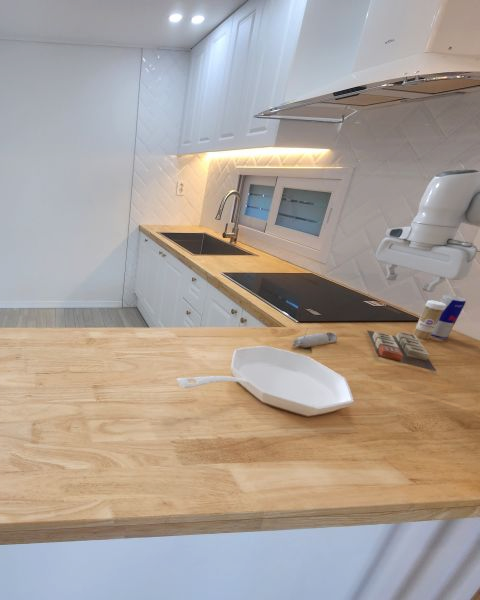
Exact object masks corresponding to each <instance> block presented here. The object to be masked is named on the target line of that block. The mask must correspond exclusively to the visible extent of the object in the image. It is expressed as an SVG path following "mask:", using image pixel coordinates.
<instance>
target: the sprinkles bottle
mask: <svg viewBox="0 0 480 600" xmlns="http://www.w3.org/2000/svg"><path fill="white" fill-rule="evenodd" d="M445 308H446V304H445V303H442V302H440V301H438V300H432V299H429V300H427V301H426V303H425V306H424V308H423V311H422V313H421V315H420V316H419V319H418V321H417V323H416V325H415V328H414V330H413V332H412V333H411V334H412V335H416V337H417V338H418V339H420V340H427V341H429V340H430V338H431V337H432V336H431V334H432V332H433V331H434V329H435V327H436V325H437V323H438V321H439V319H440V316H441V314H442V312H443V311H444V310H445Z"/></svg>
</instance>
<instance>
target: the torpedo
mask: <svg viewBox="0 0 480 600" xmlns="http://www.w3.org/2000/svg"><path fill="white" fill-rule="evenodd" d="M308 330H309V328H307V327H306V330H305V334H304V335H302V336H299V337H298V338H296V339H295V340H292V341H291V344H292V346H291V347H293V348H294V347H300V348H303V349H304V348H307V349H308V348H312V347H317V346H323V345H328V344H332V343H334V344H335V343H336V342H337V341H338V335H337V334H336V333H334V332H332V331H328V332H326V333H323V332H320V333H313V334H307V332H308ZM306 334H307V335H306Z"/></svg>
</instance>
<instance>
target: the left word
mask: <svg viewBox="0 0 480 600" xmlns="http://www.w3.org/2000/svg"><path fill="white" fill-rule="evenodd" d="M373 332H374V334H373V339H374V342H376V343H375V344H376V346H377V348H378V349H379V347H380V345H384V346H389V347H393V348H397V349H398V348H399V347H398V345H397V344H396V342H395V340H394V338H393V337H392V336H393V335H391V334H387V333H383V332H379V331H373Z"/></svg>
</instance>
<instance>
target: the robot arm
mask: <svg viewBox="0 0 480 600" xmlns="http://www.w3.org/2000/svg"><path fill="white" fill-rule="evenodd" d="M461 224H465V225H469V226H474V227H478V228H480V171H479V170H476V169H456V170H448V171H443V172H442V171H441V173H437V174H436V175H435V176H434V177H432V178H431V180H430V182H429V183H428V185H427V186H426V189H425V190H424V192H423V195H422V197H421V199H420V201H419V204H418V211H417V214H416V216H414V218H413V219H412V221H411V223H410V225H409V226H402V227H400V226H399V227H393V228H388V229H386V232H385V236H386V237H384V238H383V239H382V240H381V242H380V243H379V245H378V247H377V250H376V252H375V260H376V261H379V262H382V263H385V264H386V265H385V268H386V273H387V274H386V277H385V279H386V280H388V281H396V280H397V277H398V274H396V270H395V268H396V269H397V267H401V268H405V269H409V270H414V271H417V272H421V273H425V274H428V275H432V276H433V277H432V280H433V281H432V282H430V283H424V285H423V288H422V291H425V292H428V293H434V292H435V289H436V287H437V286H439V285H441V284H442V283H443V282H445V281H446V279H447V280H453V281H460V280H464V279H465V278H467V277H468V276H469V273H470V271H471V268H472V265H473V261H474V259H475V258H476V256H477V254H478V251H479V250H478V247H477V246H476V245H475V244H474V243H473V242H469V241H462V240H459V239H455V237H456V234H457V232H458V230H459V228H460V226H461Z"/></svg>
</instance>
